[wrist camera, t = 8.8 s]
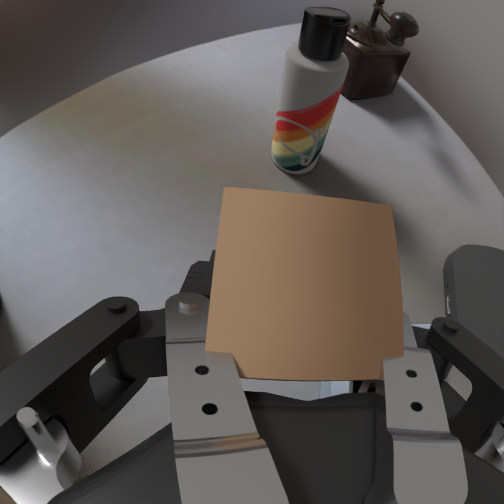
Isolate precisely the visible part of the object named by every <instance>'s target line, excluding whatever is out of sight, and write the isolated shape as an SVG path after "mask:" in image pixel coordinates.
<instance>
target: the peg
mask: <svg viewBox="0 0 504 504" xmlns="http://www.w3.org/2000/svg"><path fill="white" fill-rule="evenodd" d="M205 351H214V352H225V353H232V356H233V359H234V362H235V366H236V369H237V372H238V375H239V378H245V379H260V380H279V381H357V380H373V379H379V374H380V369H381V363H382V358H383V357H404V334H403V309H402V293H401V280H400V268H399V258H398V249H397V241H396V233H395V225H394V218H393V212H392V205H386V204H379V203H372V202H364V201H357V200H349V199H342V198H334V197H325V196H317V195H308V194H299V193H289V192H279V191H268V190H257V189H245V188H232V187H224V191H223V199H222V206H221V213H220V221H219V229H218V236H217V244H216V252H215V261H214V269H213V278H212V286H211V295H210V304H209V314H208V323H207V333H206V343H205Z"/></svg>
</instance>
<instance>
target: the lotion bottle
mask: <svg viewBox="0 0 504 504" xmlns="http://www.w3.org/2000/svg"><path fill="white" fill-rule="evenodd" d="M350 22H351V18H350V16H349V15H348V13H346V12H345V11H343V10H340V9H336V8H330V7H307V8H305V10H304V16H303V21H302V26H301V32H300V37H299V41H298V42H295V43H293V44H291V45H290V46H289V47H288V49H287V52H286V57H285V64H284V70H283V76H282V83H281V90H280V96H279V103H278V109H277V116H276V122H275V129H274V136H273V142H272V151H271V155H272V159H273V161H274V163H275V164H276V165H277V166H278V167H279V168H280V169H281V170H283V171H285V172H288V173H291V174H303V173H306V172H309V171H310V170H312V169H313V168H314V166H315V165H316V163H317V160H318V158H319V155H320V152H321V149H322V146H323V143H324V141H325V138H326V135H327V132H328V129H329V126H330V123H331V120H332V117H333V114H334V111H335V108H336V105H337V102H338V99H339V96H340V93H341V90H342V87H343V84H344V80H345V77H346V74H347V71H348V67H349V61H348V59H347V57H346V56H345V54H344V53H343V52H342V51H343V47H344V44H345V40H346V37H347V33H348V29H349V26H350Z"/></svg>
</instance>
